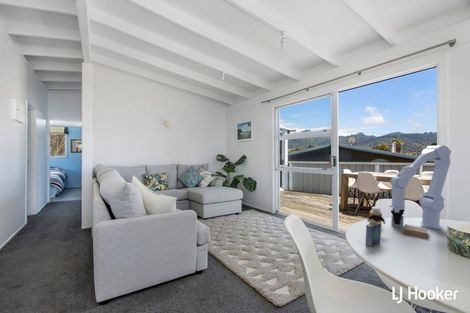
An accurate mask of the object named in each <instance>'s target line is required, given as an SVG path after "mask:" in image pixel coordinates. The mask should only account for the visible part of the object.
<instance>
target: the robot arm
mask: <svg viewBox="0 0 470 313" xmlns="http://www.w3.org/2000/svg"><path fill="white" fill-rule="evenodd" d="M451 153H452V151H451V149H450V148H449V147H448V146H446V145H445V144H443V145H428V146H426V147H425V148H424V149H422V151H421V152H420V154H419V155H418V157H416V158H415V159H414V161H413V162H412V163H411V164H410V165H406V166H403V168H402V170H400V172H399V173H397V174H396V175H395V176H393V177H391V179H390V180H389V183H390V185H391V190H392V191H391V204H389V205H388V207H390V208H392V210H390V213H391V214H392V215H393V218H394V223H395V224H398V225H399V224H400V220H401V217H402V216H403V215H404V212H405V209H406V206H405V205H406V204H405V203H406V200H405V198H406V197H405V196H406V187H408V185H409V181H410V180H411V179H412V178H413V177H414V176H415V175H416V174H417V173H418V172H417V170H418V169H419V168H421V166H423V165H424V164H425V163H427V161H429V160H432V161H433V162H434V163H435V166H434V170H433V173H432V176H431V180H430V182H429V186H428V189H427V191H426V192H424V193H422V194H423V195H422V197H420V199H419V205H420V206H421V209H422V210H421V212H422V213H421V215H422V216H421V217H422V218H421V219H422V220H421V222H420V227H424V228H427V229H433V230H441V229H442V228H441V224H440V220H441V212H442V211H443V209H444V208H445V198H444V196H442V191H443V188H444V185H445V181H446V178H447V175H448V173H449V170H450V166H451V157H450V156H451ZM392 215H391V216H392Z"/></svg>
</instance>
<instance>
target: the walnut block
mask: <svg viewBox="0 0 470 313" xmlns="http://www.w3.org/2000/svg"><path fill="white" fill-rule="evenodd" d="M402 234H403V235H408V236H413V237H417V238H423V239H428V228H427V227H422V226H418V225H417V226H416V225H411V224H406V223H405V224H404V225H403V232H402Z"/></svg>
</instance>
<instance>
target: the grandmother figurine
mask: <svg viewBox="0 0 470 313" xmlns="http://www.w3.org/2000/svg"><path fill="white" fill-rule="evenodd" d="M380 212H382V211H381V209H380V210H379V209H378V208H374V209H373V213H374V215H371V216H370V215H369V217H368V218H367V222H368V223H370V220H371V219H373V220H374V221H375V222H379V223H380V220H381V221H382V223H383V225H385V224H386V220H385V219H384V218H383V216H382V217H381V216H379V213H380Z"/></svg>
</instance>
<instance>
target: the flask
mask: <svg viewBox="0 0 470 313" xmlns="http://www.w3.org/2000/svg"><path fill="white" fill-rule="evenodd" d="M371 220H372V221H371ZM371 220H370V221H371V223H370V221H369V223H370V224H369V223H368V224H366V226H365V227H366V229H365V246H366V247H374V246H376V245H379V244H381V232H382V230H381V229H382V224H381V223H379V222H375V221H374V220H373V219H371Z"/></svg>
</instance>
